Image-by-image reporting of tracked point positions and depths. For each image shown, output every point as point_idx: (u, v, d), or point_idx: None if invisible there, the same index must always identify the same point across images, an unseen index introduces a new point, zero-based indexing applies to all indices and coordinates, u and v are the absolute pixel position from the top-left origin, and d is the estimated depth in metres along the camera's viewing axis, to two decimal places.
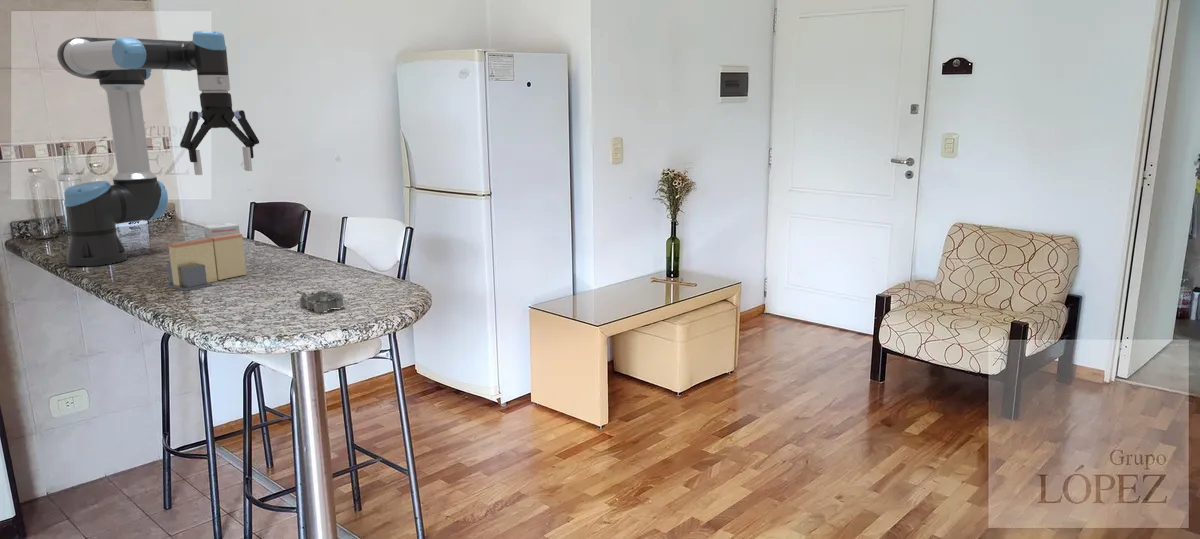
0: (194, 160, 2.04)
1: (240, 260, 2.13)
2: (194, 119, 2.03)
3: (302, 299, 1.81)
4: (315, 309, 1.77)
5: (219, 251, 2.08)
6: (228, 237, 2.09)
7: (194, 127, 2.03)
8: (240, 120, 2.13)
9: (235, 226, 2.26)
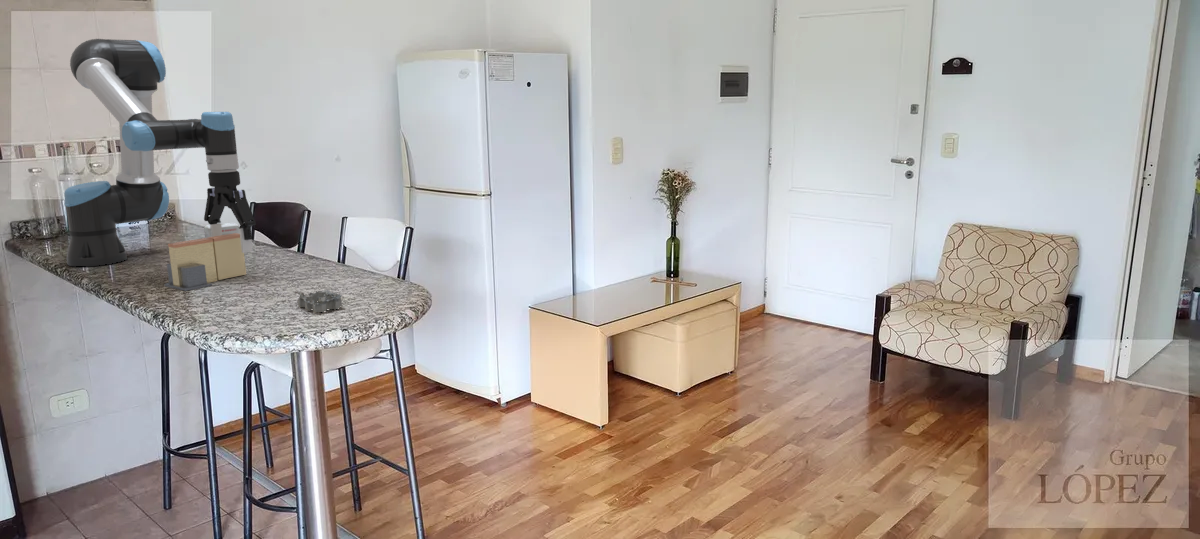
0: None
1: (240, 260, 2.13)
2: None
3: (300, 299, 1.81)
4: (314, 309, 1.77)
5: (219, 251, 2.08)
6: (228, 237, 2.09)
7: (208, 203, 2.12)
8: None
9: (235, 226, 2.26)
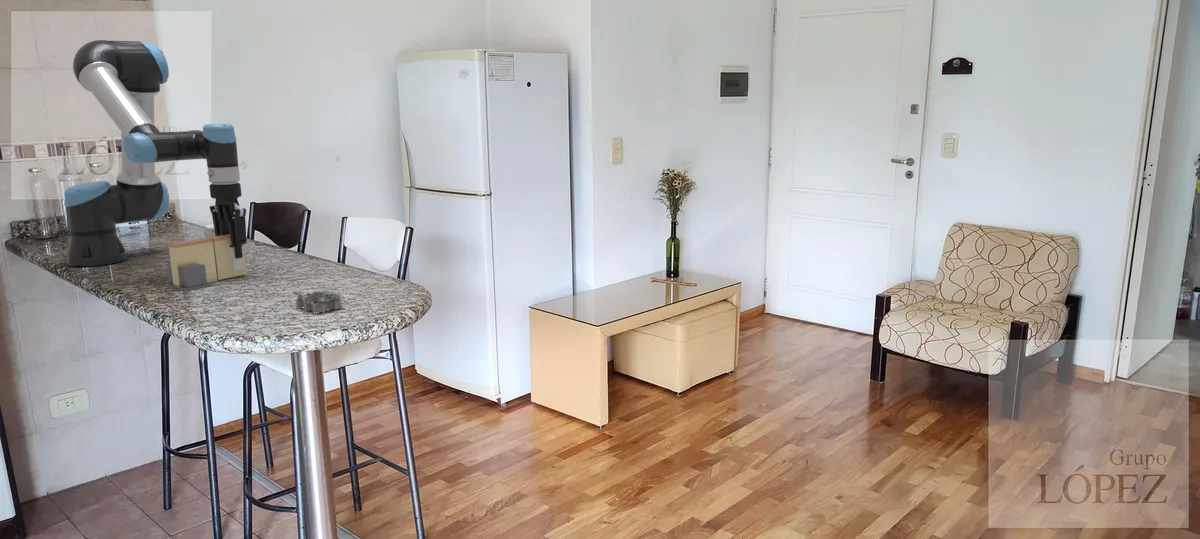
0: None
1: None
2: (212, 213, 2.12)
3: (299, 300, 1.80)
4: (313, 310, 1.77)
5: (219, 251, 2.08)
6: (228, 237, 2.09)
7: (214, 221, 2.12)
8: None
9: None
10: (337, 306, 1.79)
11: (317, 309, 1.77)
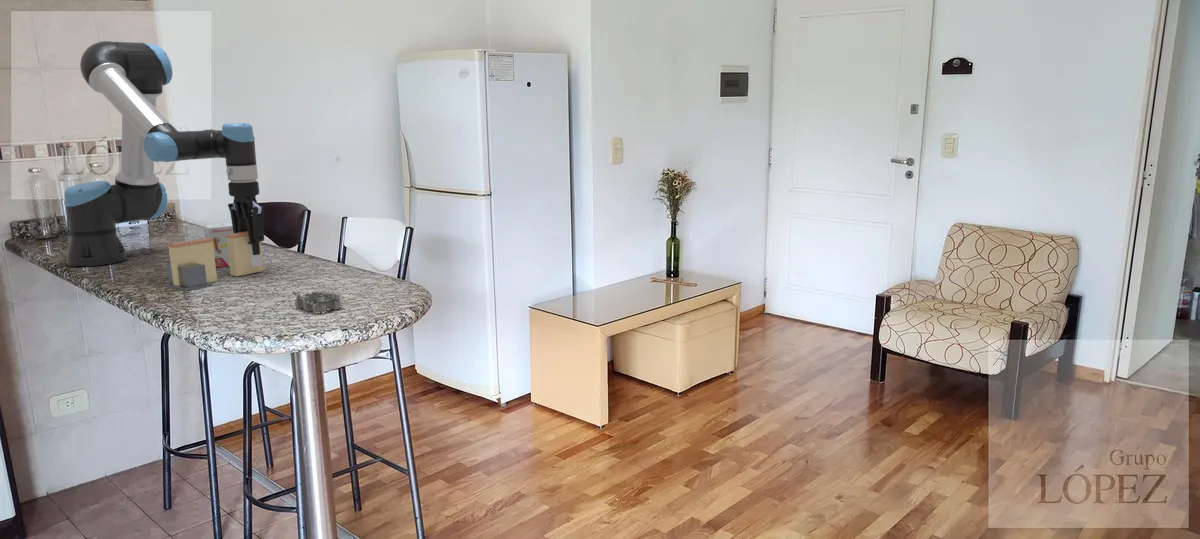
0: None
1: None
2: (230, 211, 2.17)
3: (298, 300, 1.80)
4: (313, 310, 1.77)
5: (237, 248, 2.12)
6: (246, 234, 2.14)
7: (233, 218, 2.16)
8: None
9: None
10: (337, 306, 1.79)
11: (317, 309, 1.77)
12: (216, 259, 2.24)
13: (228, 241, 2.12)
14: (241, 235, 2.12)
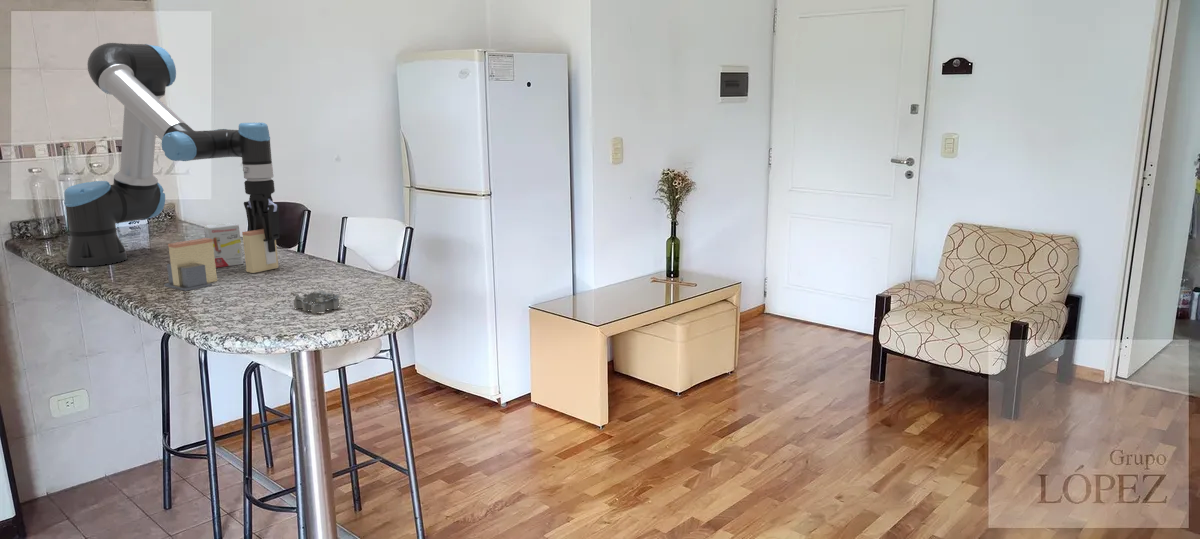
0: None
1: None
2: (246, 209, 2.20)
3: (297, 301, 1.80)
4: (312, 310, 1.76)
5: (253, 245, 2.16)
6: (262, 232, 2.17)
7: (248, 216, 2.20)
8: None
9: (235, 226, 2.26)
10: (336, 306, 1.79)
11: (316, 309, 1.76)
12: (216, 259, 2.24)
13: (244, 238, 2.16)
14: (257, 232, 2.16)
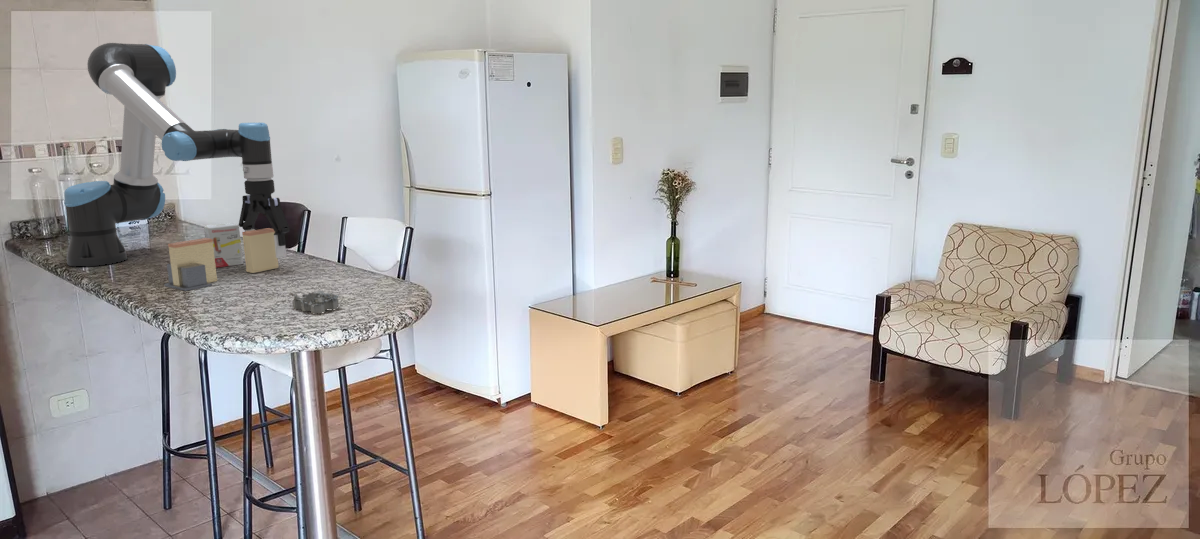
0: None
1: (273, 254, 2.21)
2: (243, 202, 2.21)
3: (296, 301, 1.80)
4: (312, 310, 1.76)
5: (253, 245, 2.16)
6: (262, 232, 2.17)
7: (243, 210, 2.21)
8: None
9: (235, 226, 2.26)
10: (335, 306, 1.79)
11: (316, 310, 1.76)
12: (216, 259, 2.24)
13: (244, 238, 2.16)
14: (257, 232, 2.16)
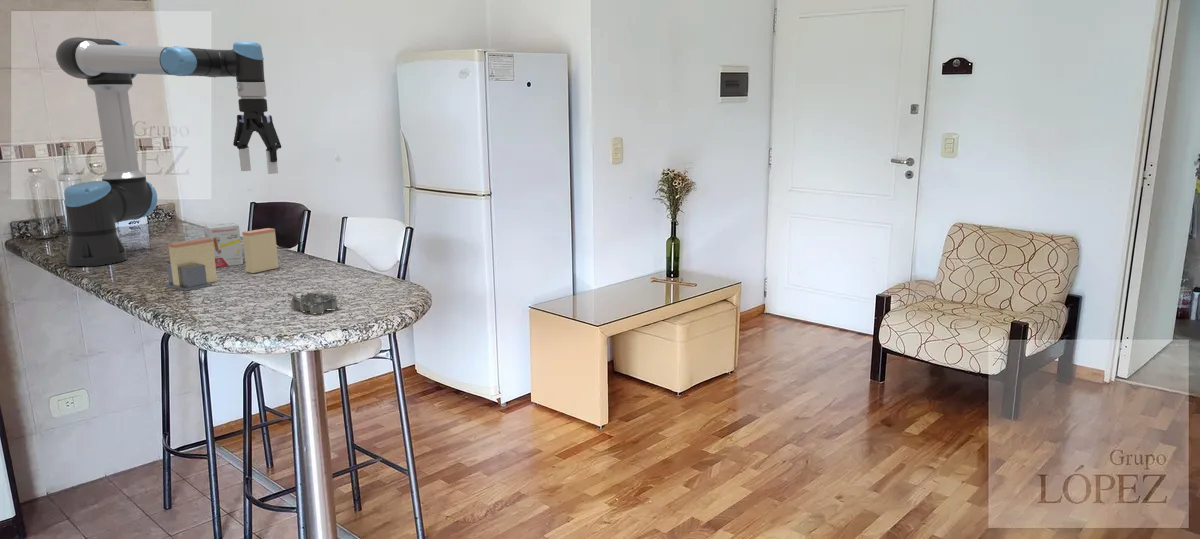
0: None
1: (273, 254, 2.21)
2: (237, 121, 2.29)
3: (294, 301, 1.79)
4: (311, 311, 1.76)
5: (253, 245, 2.16)
6: (262, 232, 2.17)
7: (237, 129, 2.30)
8: None
9: (235, 226, 2.26)
10: (334, 307, 1.79)
11: (315, 310, 1.76)
12: (216, 259, 2.24)
13: (244, 238, 2.16)
14: (257, 232, 2.16)
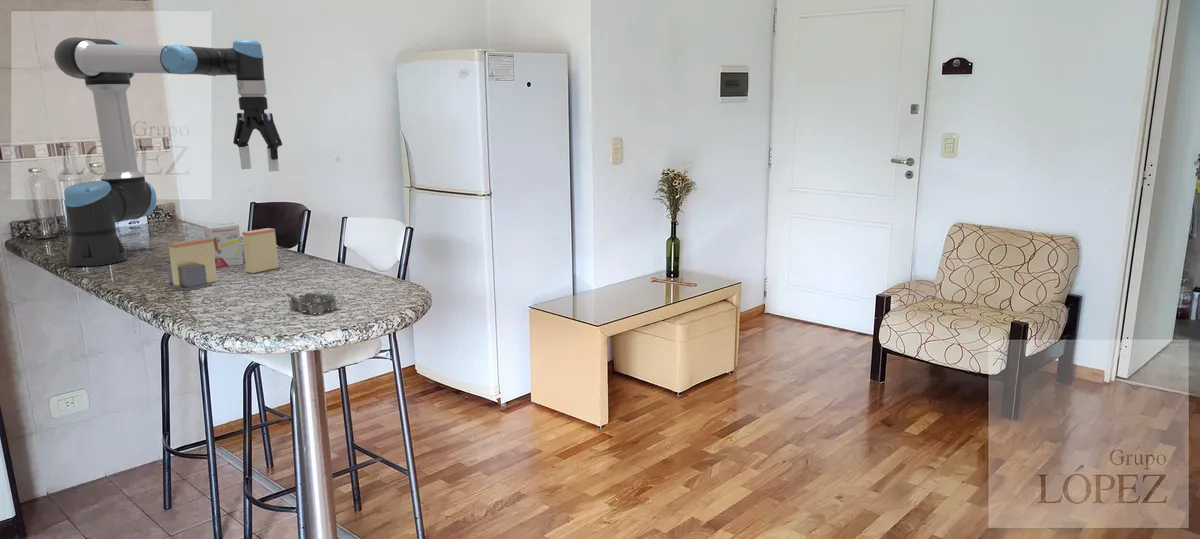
0: None
1: (273, 254, 2.21)
2: (237, 120, 2.30)
3: (293, 302, 1.79)
4: (310, 311, 1.76)
5: (253, 245, 2.16)
6: (262, 232, 2.17)
7: (237, 127, 2.31)
8: None
9: (235, 226, 2.26)
10: (333, 307, 1.79)
11: (314, 310, 1.76)
12: (216, 259, 2.24)
13: (244, 238, 2.16)
14: (257, 232, 2.16)
